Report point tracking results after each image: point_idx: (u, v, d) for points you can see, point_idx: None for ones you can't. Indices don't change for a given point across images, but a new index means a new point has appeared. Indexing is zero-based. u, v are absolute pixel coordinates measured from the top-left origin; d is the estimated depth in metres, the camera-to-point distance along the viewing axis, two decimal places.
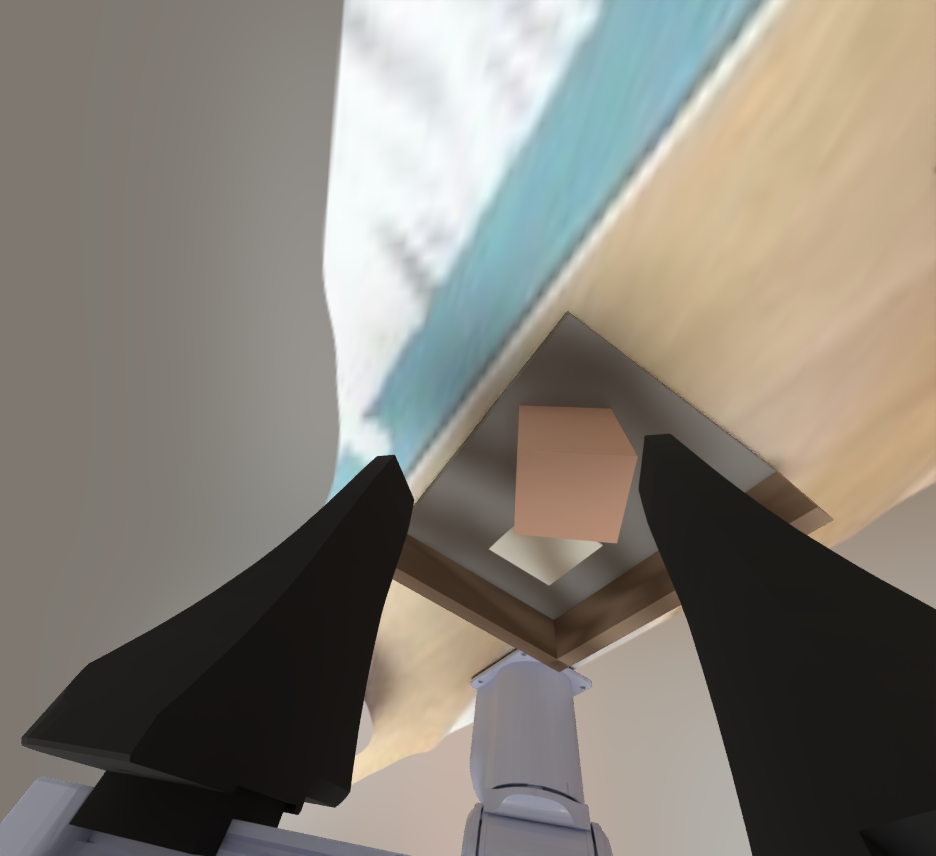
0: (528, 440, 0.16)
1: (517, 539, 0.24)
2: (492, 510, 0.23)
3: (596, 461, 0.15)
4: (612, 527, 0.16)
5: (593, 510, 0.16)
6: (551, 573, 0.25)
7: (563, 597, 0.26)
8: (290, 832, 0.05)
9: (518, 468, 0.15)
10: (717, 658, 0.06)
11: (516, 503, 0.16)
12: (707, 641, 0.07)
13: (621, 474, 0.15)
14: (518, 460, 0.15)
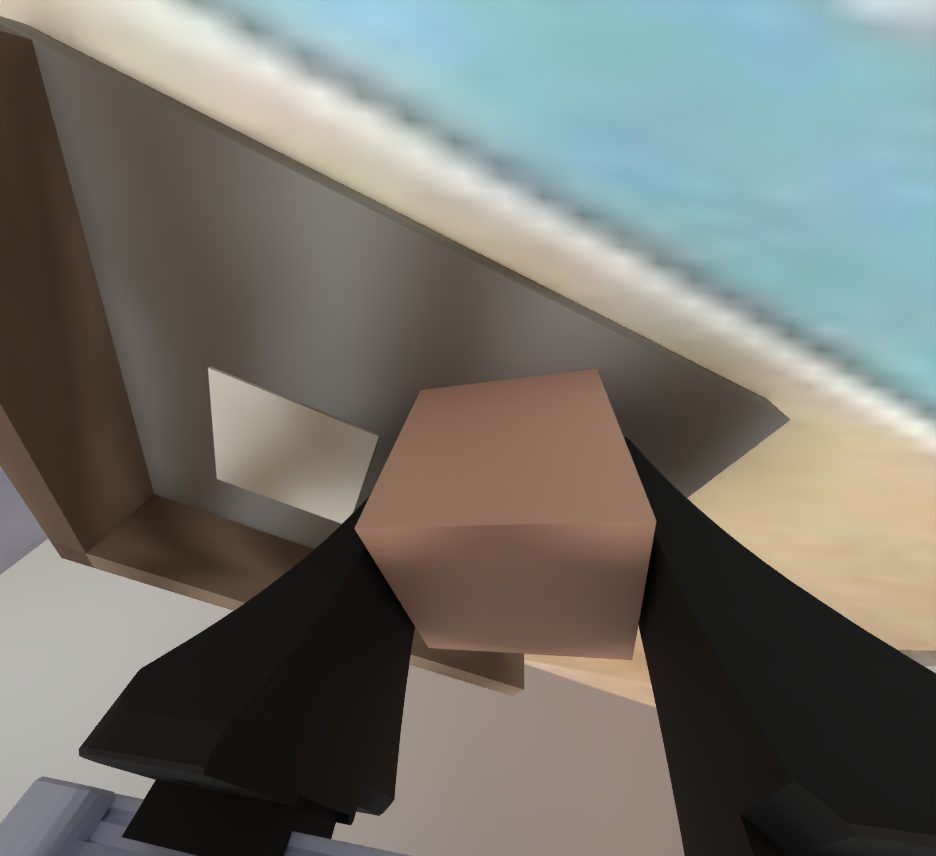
0: None
1: (273, 417, 0.11)
2: (313, 357, 0.10)
3: (618, 626, 0.07)
4: (461, 643, 0.08)
5: (491, 627, 0.08)
6: (245, 477, 0.13)
7: (210, 498, 0.15)
8: (290, 832, 0.05)
9: (588, 525, 0.05)
10: (655, 655, 0.06)
11: (461, 527, 0.06)
12: (649, 638, 0.07)
13: (588, 648, 0.08)
14: (618, 524, 0.05)
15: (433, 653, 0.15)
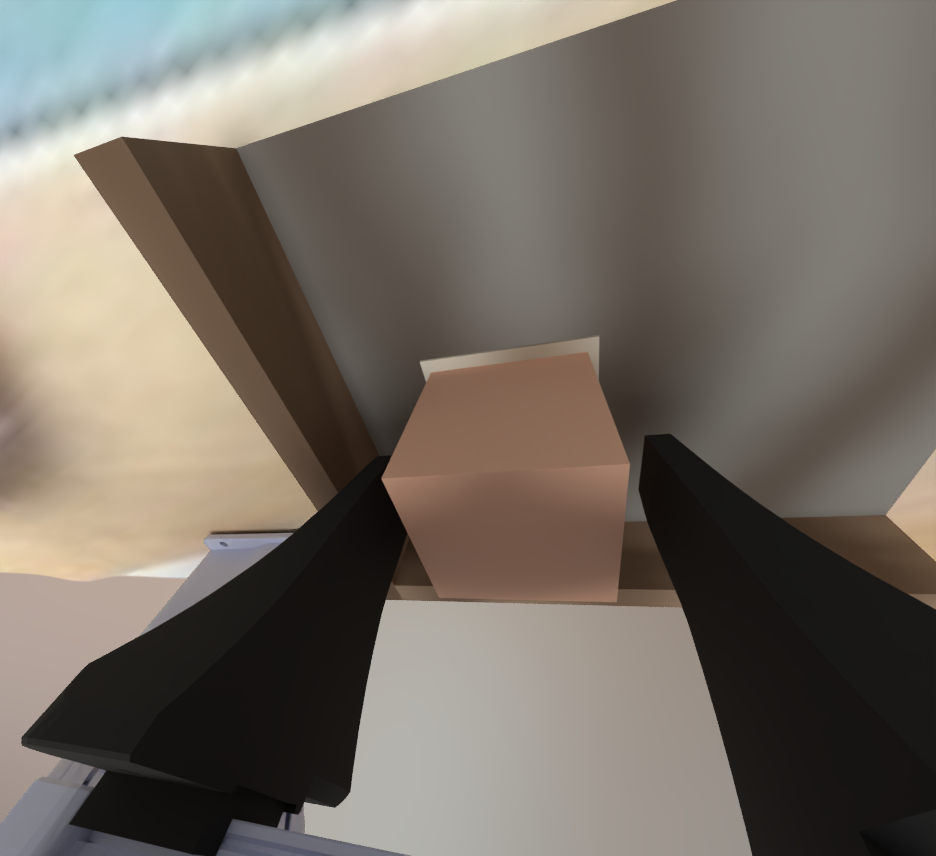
0: None
1: None
2: (504, 285, 0.09)
3: (603, 568, 0.08)
4: (468, 592, 0.10)
5: (494, 573, 0.09)
6: None
7: None
8: (290, 832, 0.05)
9: (575, 469, 0.06)
10: (717, 658, 0.06)
11: (471, 475, 0.07)
12: (707, 641, 0.07)
13: (579, 592, 0.09)
14: (599, 467, 0.06)
15: None
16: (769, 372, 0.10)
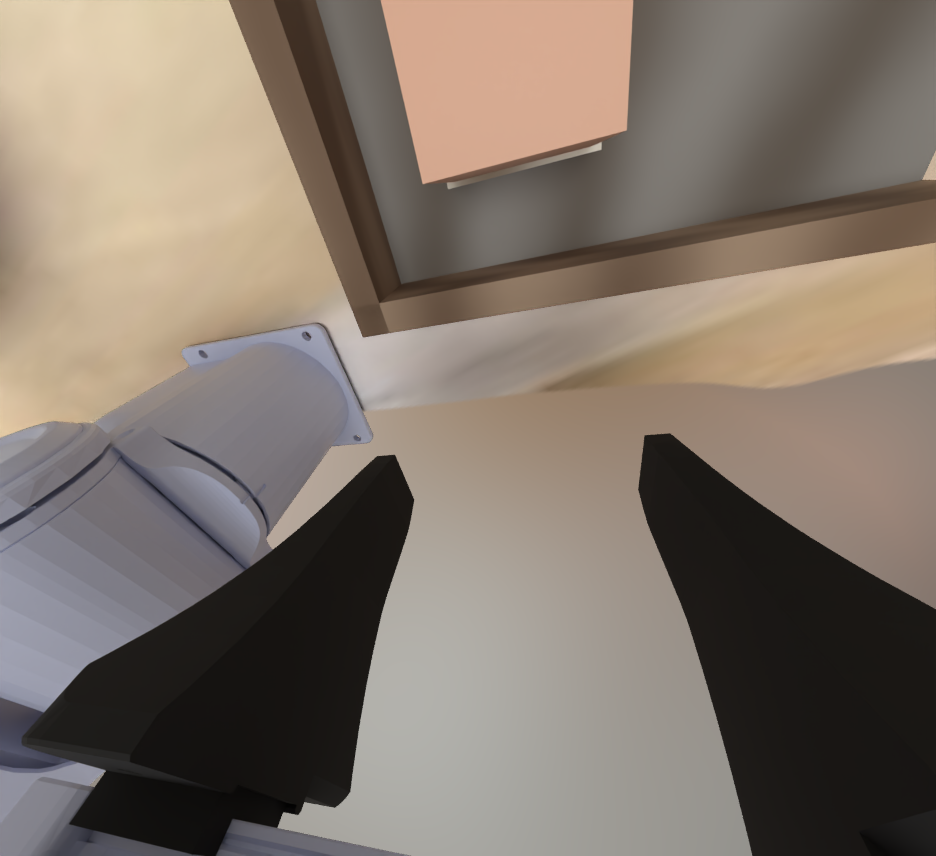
0: None
1: None
2: None
3: (613, 34, 0.07)
4: (455, 156, 0.08)
5: (485, 92, 0.08)
6: None
7: (448, 241, 0.14)
8: (290, 832, 0.05)
9: None
10: (717, 658, 0.06)
11: None
12: (707, 641, 0.07)
13: (583, 114, 0.08)
14: None
15: (814, 219, 0.10)
16: None
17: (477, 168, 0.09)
